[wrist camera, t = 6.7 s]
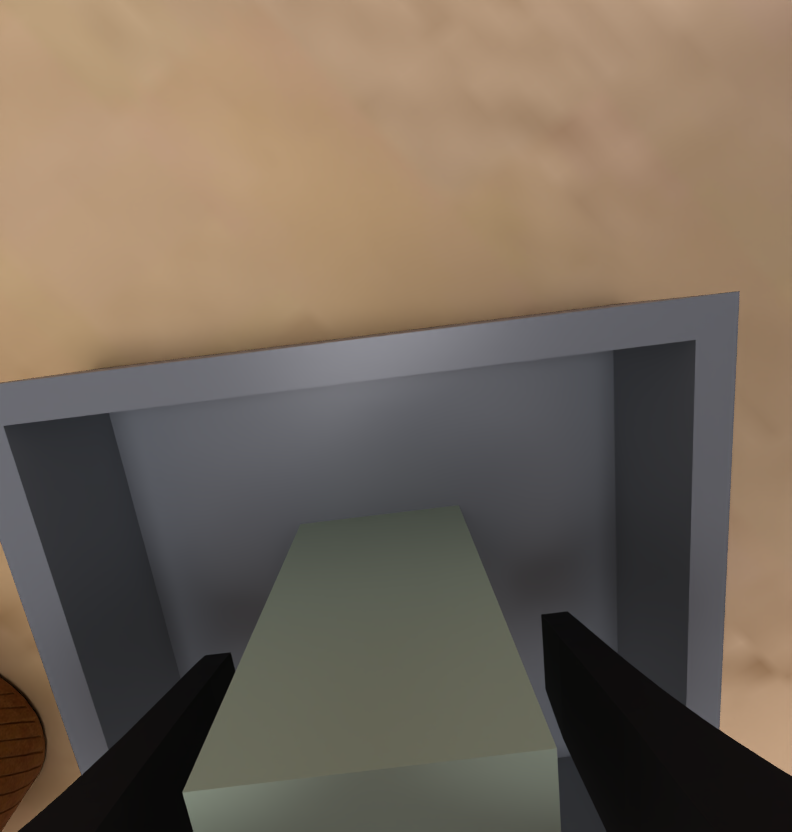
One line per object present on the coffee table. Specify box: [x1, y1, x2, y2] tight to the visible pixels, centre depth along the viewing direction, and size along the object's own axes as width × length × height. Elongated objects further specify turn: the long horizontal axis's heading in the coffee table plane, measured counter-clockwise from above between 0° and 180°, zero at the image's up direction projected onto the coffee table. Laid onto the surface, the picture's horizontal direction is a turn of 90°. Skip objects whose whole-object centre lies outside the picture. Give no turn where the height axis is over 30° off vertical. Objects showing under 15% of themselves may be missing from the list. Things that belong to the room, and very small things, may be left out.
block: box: [182, 505, 561, 832], centre depth 9 cm, size 4×4×7 cm
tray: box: [0, 291, 740, 832], centre depth 11 cm, size 15×15×4 cm
